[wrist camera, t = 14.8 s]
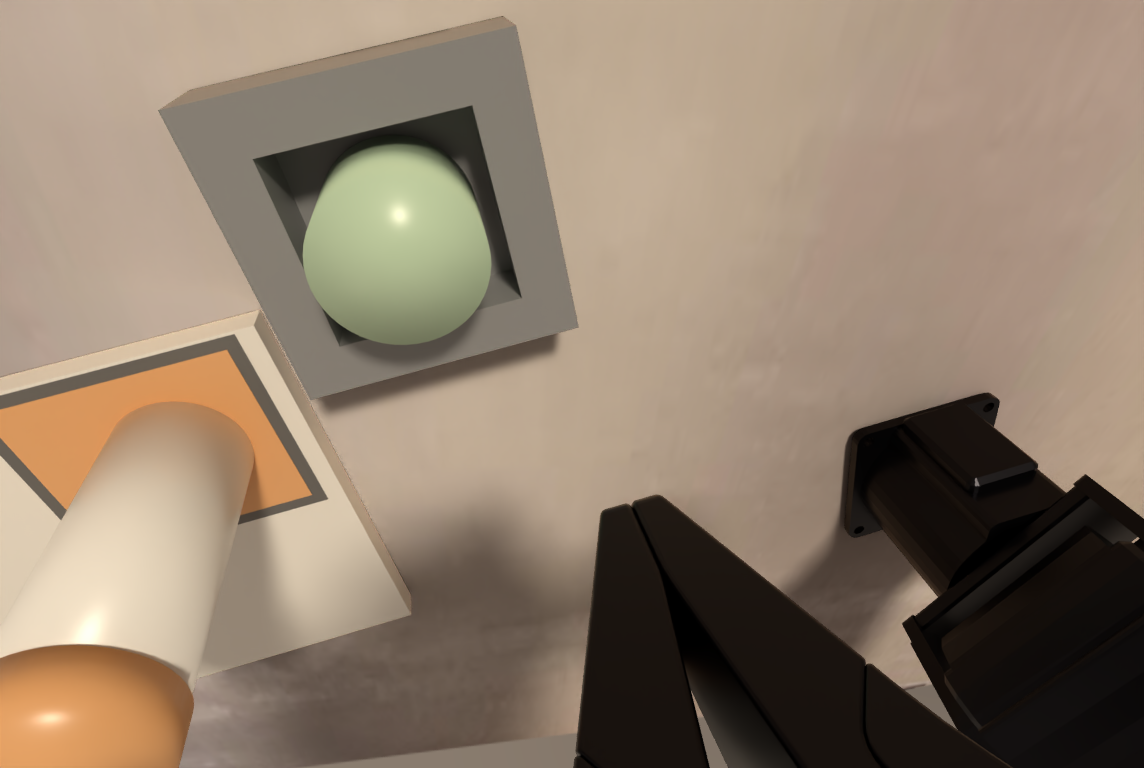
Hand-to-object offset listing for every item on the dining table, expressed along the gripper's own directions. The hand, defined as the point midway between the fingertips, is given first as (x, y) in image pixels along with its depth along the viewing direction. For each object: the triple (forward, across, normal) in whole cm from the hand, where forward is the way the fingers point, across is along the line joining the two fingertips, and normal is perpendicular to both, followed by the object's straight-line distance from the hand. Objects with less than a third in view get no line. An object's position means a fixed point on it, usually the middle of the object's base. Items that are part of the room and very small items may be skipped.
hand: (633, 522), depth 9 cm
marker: (+12, +12, +4) cm, 17 cm away
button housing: (+13, +3, -1) cm, 13 cm away
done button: (+12, +3, -1) cm, 13 cm away
